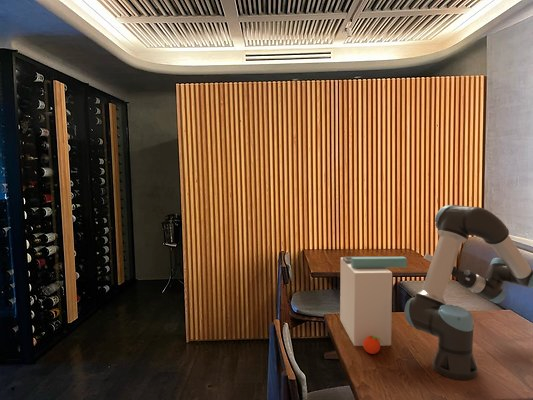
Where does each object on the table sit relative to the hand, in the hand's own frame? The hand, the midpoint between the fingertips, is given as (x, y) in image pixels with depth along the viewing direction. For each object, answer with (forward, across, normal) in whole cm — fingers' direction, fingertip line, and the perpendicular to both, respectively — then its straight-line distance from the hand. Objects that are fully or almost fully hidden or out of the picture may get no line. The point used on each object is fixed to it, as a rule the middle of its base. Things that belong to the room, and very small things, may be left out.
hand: (431, 258), depth 182 cm
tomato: (+9, -18, -46) cm, 50 cm away
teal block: (+19, 0, -14) cm, 24 cm away
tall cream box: (+8, +4, -45) cm, 46 cm away
